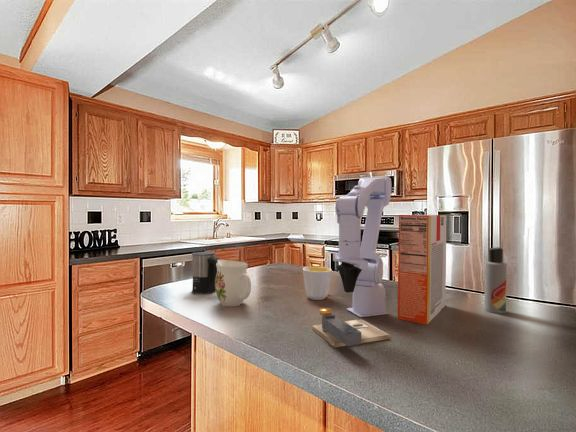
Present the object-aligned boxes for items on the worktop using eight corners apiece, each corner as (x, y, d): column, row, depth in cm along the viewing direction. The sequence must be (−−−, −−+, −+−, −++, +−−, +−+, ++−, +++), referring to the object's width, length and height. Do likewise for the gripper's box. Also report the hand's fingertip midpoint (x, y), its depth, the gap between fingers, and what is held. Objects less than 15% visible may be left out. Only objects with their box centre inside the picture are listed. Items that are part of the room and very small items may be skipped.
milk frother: (186, 293, 121) (186, 253, 121) (209, 284, 136) (209, 249, 136) (219, 296, 117) (220, 255, 117) (239, 287, 132) (240, 250, 132)
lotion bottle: (509, 314, 99) (510, 248, 98) (488, 313, 100) (489, 248, 100) (500, 308, 104) (501, 246, 104) (481, 307, 105) (482, 246, 105)
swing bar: (316, 323, 82) (316, 308, 82) (328, 322, 83) (328, 307, 83) (347, 346, 68) (347, 328, 68) (361, 343, 70) (361, 326, 70)
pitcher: (234, 314, 97) (235, 268, 97) (204, 301, 110) (204, 261, 110) (263, 306, 104) (263, 264, 104) (232, 296, 117) (232, 258, 117)
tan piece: (361, 322, 90) (361, 304, 90) (389, 338, 79) (389, 318, 79) (312, 329, 85) (312, 310, 85) (334, 347, 74) (334, 325, 74)
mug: (322, 303, 109) (322, 272, 108) (297, 298, 115) (297, 269, 114) (340, 295, 120) (341, 267, 120) (316, 291, 126) (317, 264, 125)
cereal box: (419, 301, 112) (421, 214, 112) (445, 305, 108) (446, 215, 107) (397, 318, 94) (399, 215, 94) (427, 324, 89) (428, 215, 89)
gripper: (323, 239, 92) (323, 286, 92) (351, 244, 78) (350, 300, 79) (345, 238, 94) (345, 285, 95) (375, 243, 81) (374, 297, 81)
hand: (349, 291), depth 87 cm, fingers closed
